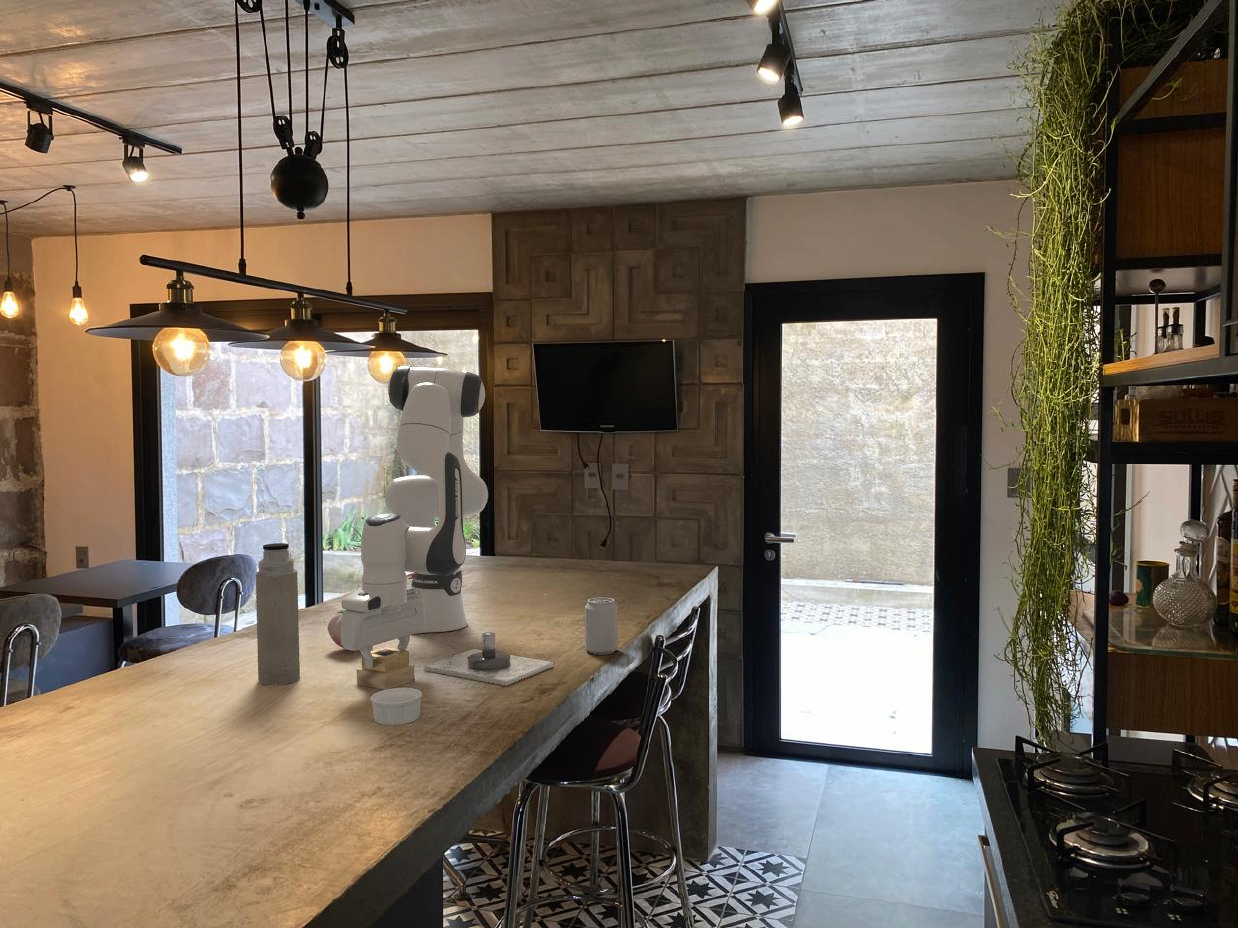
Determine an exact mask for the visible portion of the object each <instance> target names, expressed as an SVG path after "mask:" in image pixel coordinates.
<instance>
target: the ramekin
mask: <svg viewBox="0 0 1238 928" xmlns="http://www.w3.org/2000/svg"><path fill="white" fill-rule="evenodd" d="M422 696H423V692H422V691H421V690H419V689H416V688H413V687H412V688H411V687H393V688H390V689H387V690H384V689H382V690H380V691H377V692H375V693H373V694H372V695H371V696H370V702H371V705H372V712H373V713H372V714H373V720H374V721H375V723H377V724H379V725H382V726H402V725H407V724H410V723H412V722H415V721H417V720H418V719H419V717H420V715H421V701H422V700H421V699H422Z"/></svg>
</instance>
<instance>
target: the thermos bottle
mask: <svg viewBox="0 0 1238 928" xmlns="http://www.w3.org/2000/svg"><path fill="white" fill-rule="evenodd" d="M262 550H263V552H262V553H263V558H262V559H261V560H259V561H258V567H257V568H258V570H259V571H256V572H255V602H256V603H255V604H256V609H255V610H256V634H257V635H256V637H257V639H256V641H257V642H256V643H257V644H256V645H257V647H256V648H257V676H258V678H257V679H258V680H257V681H258V683H259V684H260V685H263V686H283V685H288V684H292V683H295V682H297V681H298V680H300V679H301V667H300V666H301V663H300V662H301V661H300V634H299V633H300V627H299V590H298V589H299V586H298V570H297V569H295V567H294V566H295V562H294V559H293V558H291V557H290V551H289V543H285V542H284V543H282V542H281V543H280V542H277V543H276V542H275V543H266V544H263V545H262Z"/></svg>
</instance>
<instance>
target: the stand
mask: <svg viewBox="0 0 1238 928" xmlns="http://www.w3.org/2000/svg"><path fill="white" fill-rule="evenodd" d="M390 654H392V650H389V649H385V650H380V651H379V655H382V656H387V655H390ZM415 679H416V678H415V664H410V663H409V666H406V667H403V668H400V669H397V670H394V671H391V672H388V673H380V672H375V671H370V670H365V669H362V667H359V668H356V685H361V686H365V687H370V688H374V689H380V690H387V689H393V688H396V687H398V686H401V685H404V684H406V683H408V682H411V681H414V680H415Z"/></svg>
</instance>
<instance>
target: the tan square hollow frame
mask: <svg viewBox="0 0 1238 928" xmlns="http://www.w3.org/2000/svg"><path fill="white" fill-rule="evenodd" d="M385 649H389V650H392V654H390V655H387V656H382V655H379V651H380V650H385ZM371 654H372V656H373V658H377V662H376V663H377V666H376V667H373V668H366V667H365V659H364V657H363V655H362V654H361V668H362V669H365V670H370V671H375V672H380V673H388V672H391V671H394V670H397V669H400V668H403V667H406V666H409V664H410V650H407V649H406V650H401V649H397V648H395V647H388V646H384V647H381V648H378V649H375V650H374V649H373V651H371Z"/></svg>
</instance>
